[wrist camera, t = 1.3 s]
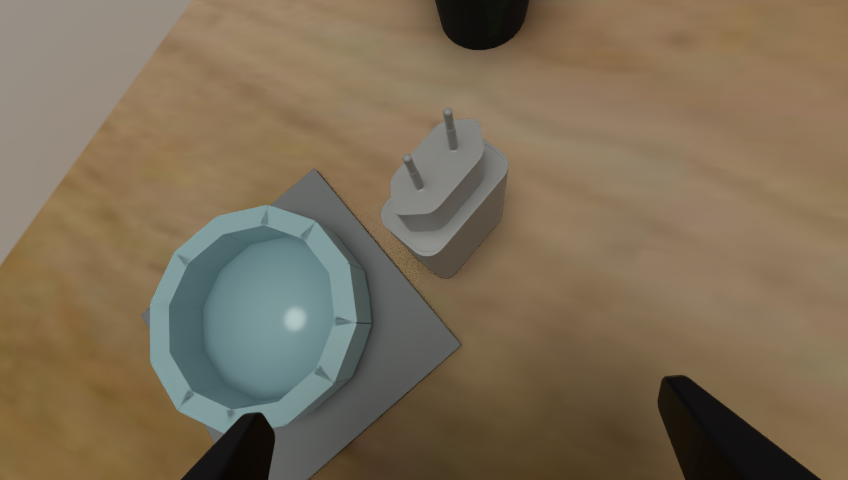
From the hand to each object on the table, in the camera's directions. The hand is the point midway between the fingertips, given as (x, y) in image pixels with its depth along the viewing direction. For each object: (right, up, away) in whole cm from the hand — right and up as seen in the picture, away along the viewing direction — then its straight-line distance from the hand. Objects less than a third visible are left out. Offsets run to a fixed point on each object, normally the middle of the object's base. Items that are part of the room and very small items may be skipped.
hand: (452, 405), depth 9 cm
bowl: (-9, -1, +14) cm, 17 cm away
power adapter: (+1, +4, +14) cm, 15 cm away
